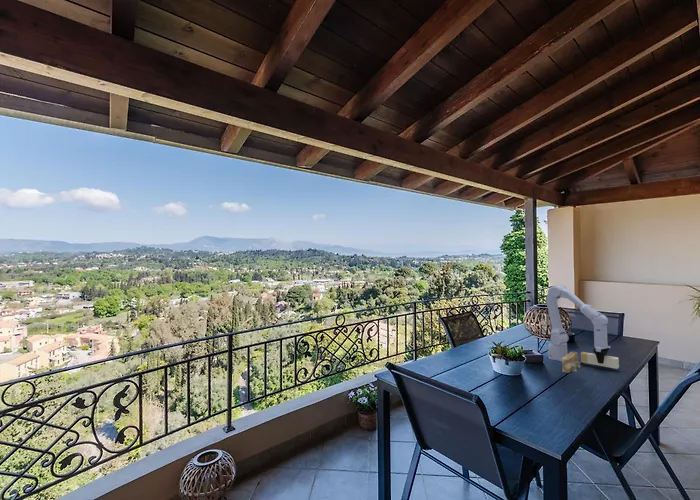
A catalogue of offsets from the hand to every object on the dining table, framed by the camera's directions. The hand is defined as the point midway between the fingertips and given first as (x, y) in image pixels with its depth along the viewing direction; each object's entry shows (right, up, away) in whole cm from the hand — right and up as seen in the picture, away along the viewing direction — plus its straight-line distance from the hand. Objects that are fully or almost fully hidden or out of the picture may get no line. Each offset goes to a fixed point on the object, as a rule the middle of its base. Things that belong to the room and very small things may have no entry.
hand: (601, 362), depth 176 cm
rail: (-1, -2, +1) cm, 2 cm away
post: (-16, -4, +1) cm, 17 cm away
